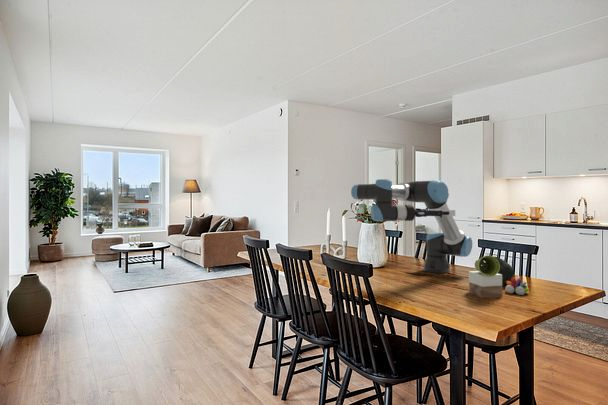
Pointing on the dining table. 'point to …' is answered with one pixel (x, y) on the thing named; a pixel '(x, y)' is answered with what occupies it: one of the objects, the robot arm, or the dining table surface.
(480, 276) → the pale top block
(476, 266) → the plant pot
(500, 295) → the walnut base block
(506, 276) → the squash
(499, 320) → the dining table surface
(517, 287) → the rainbow petal cluster
